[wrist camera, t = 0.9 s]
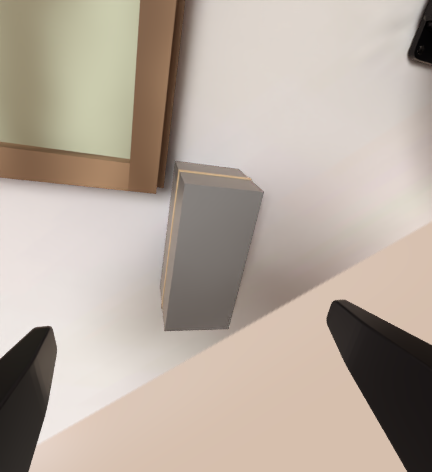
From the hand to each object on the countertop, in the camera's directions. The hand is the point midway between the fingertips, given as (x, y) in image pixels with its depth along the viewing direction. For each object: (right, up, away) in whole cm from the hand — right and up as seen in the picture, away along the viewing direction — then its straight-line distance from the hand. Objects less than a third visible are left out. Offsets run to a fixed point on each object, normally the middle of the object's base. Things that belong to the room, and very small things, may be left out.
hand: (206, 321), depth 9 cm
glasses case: (-1, +3, +13) cm, 13 cm away
